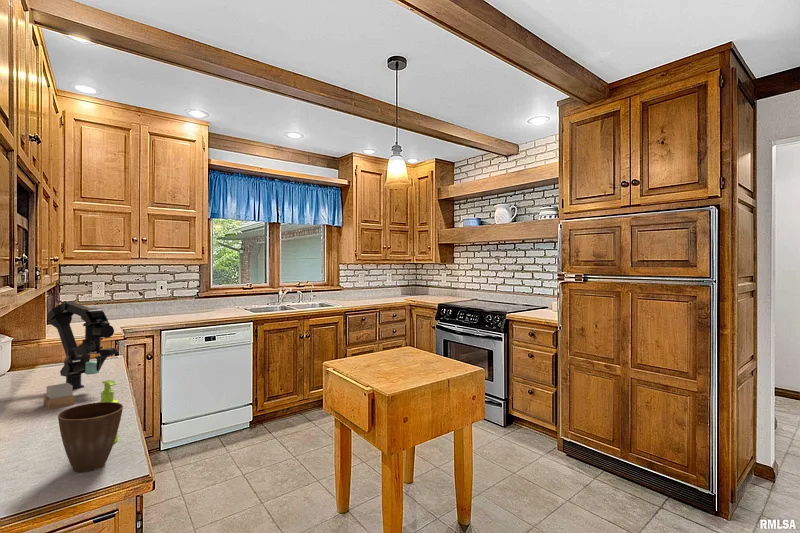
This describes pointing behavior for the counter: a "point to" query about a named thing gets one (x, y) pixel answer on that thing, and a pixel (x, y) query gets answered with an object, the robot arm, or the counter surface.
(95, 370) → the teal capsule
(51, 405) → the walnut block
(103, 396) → the soap dispenser
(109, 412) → the plant pot
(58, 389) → the light grey block
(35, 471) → the counter surface
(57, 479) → the counter surface
